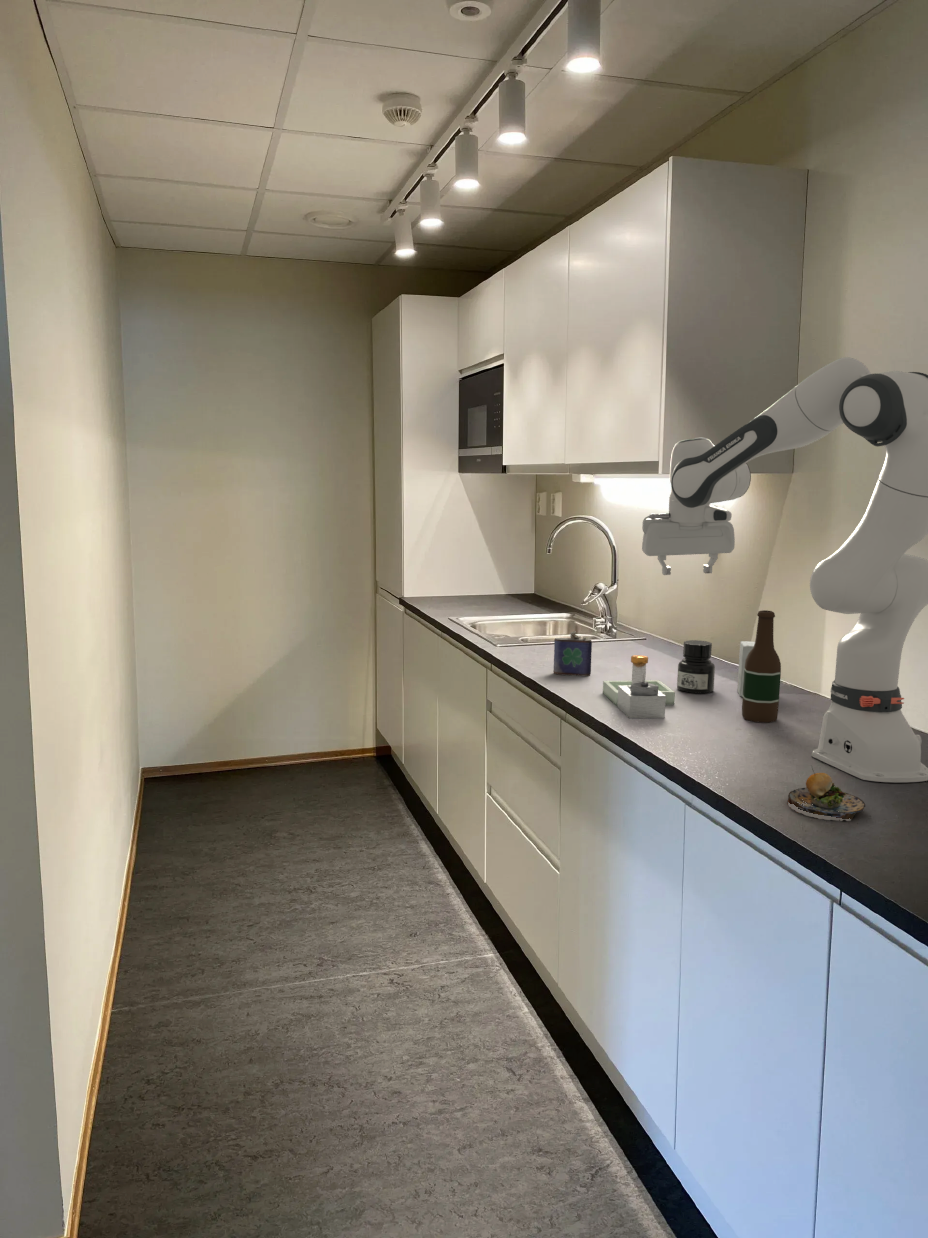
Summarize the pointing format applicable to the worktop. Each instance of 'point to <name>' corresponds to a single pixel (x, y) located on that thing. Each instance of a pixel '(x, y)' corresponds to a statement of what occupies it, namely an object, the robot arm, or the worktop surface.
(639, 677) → the pin
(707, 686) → the ink bottle
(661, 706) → the block
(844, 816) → the burger
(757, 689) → the beer bottle
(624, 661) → the worktop surface
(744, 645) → the supplement box
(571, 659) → the flask
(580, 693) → the worktop surface
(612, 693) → the tray
